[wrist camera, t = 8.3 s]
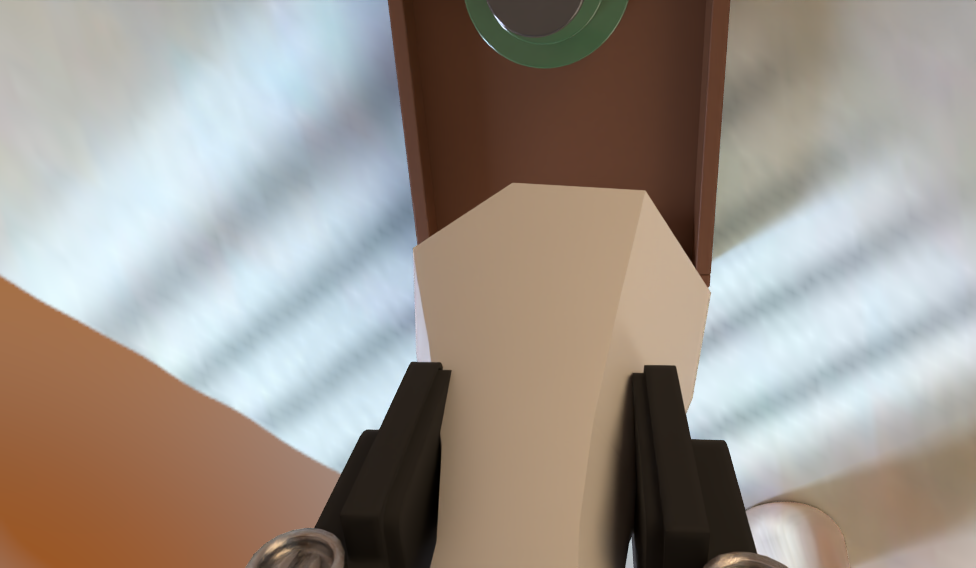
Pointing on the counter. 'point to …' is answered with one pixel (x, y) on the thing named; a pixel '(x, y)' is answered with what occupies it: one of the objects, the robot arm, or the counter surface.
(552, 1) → the green bottle
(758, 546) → the beer glass
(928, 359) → the counter surface
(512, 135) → the tray
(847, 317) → the counter surface
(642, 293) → the flask
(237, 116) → the counter surface
